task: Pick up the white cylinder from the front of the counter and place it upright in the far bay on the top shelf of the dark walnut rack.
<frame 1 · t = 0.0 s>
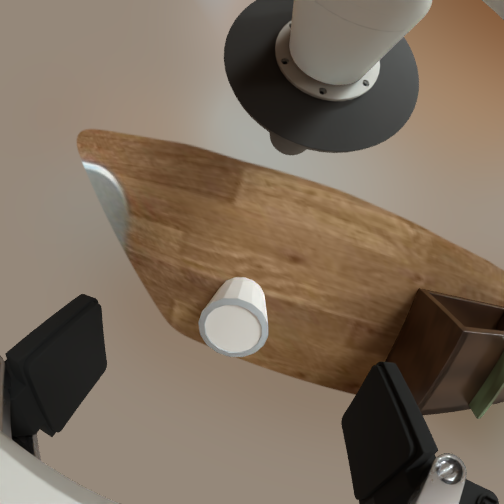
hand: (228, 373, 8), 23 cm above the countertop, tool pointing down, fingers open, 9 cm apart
white cylinder: (241, 298, 33), on the countertop
rack: (454, 334, 32), on the countertop
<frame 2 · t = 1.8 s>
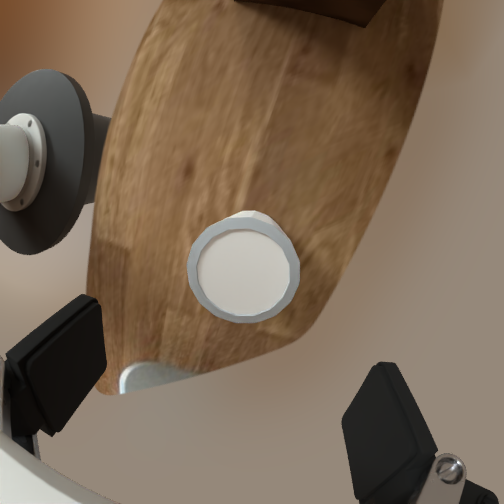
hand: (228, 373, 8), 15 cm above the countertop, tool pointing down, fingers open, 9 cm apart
white cylinder: (250, 243, 23), on the countertop
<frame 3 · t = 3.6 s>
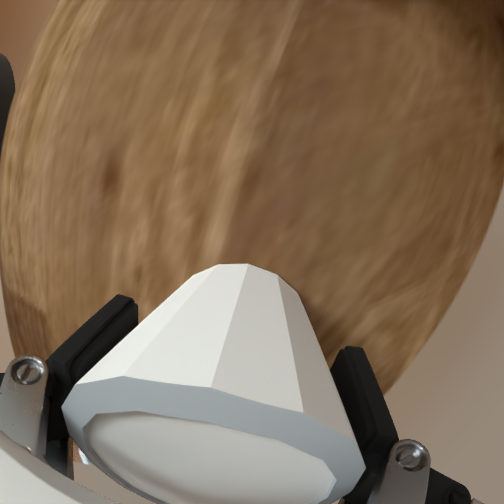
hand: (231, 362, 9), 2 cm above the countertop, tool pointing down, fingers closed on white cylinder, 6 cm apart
white cylinder: (238, 326, 11), on the countertop, touching gripper
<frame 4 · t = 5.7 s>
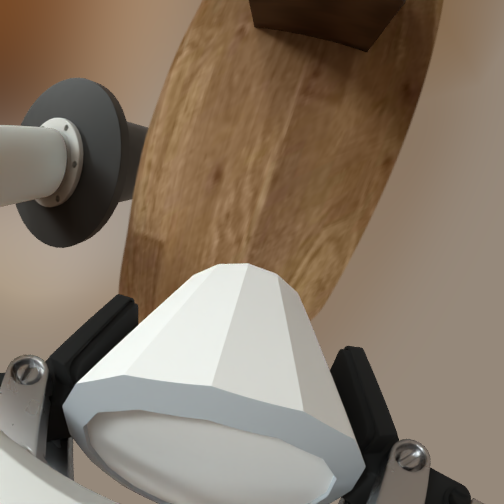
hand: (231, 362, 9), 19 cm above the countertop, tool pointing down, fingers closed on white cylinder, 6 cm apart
white cylinder: (238, 326, 11), point 17 cm above the countertop, touching gripper
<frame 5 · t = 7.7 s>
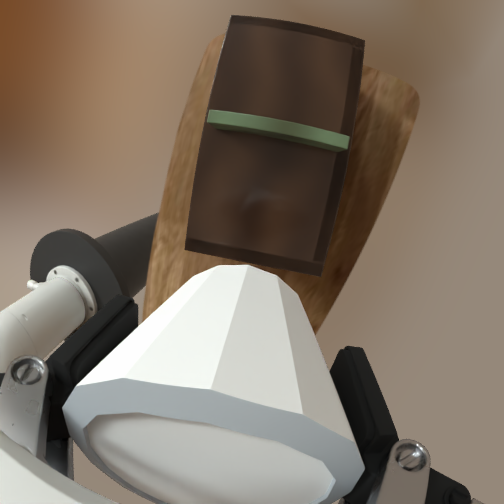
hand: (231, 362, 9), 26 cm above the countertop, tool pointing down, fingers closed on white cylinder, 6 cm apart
white cylinder: (238, 327, 11), point 23 cm above the countertop, touching gripper
rack: (276, 146, 31), on the countertop
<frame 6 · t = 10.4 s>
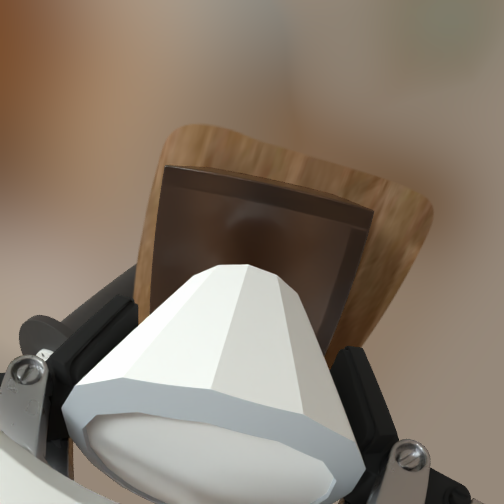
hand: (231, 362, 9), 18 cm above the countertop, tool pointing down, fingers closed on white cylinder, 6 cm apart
white cylinder: (238, 327, 11), point 16 cm above the countertop, touching gripper
rack: (247, 288, 28), on the countertop
when the fingers open (13 cm above the countertop, at t = 12.2 s): white cylinder stays where it is, resting on rack.
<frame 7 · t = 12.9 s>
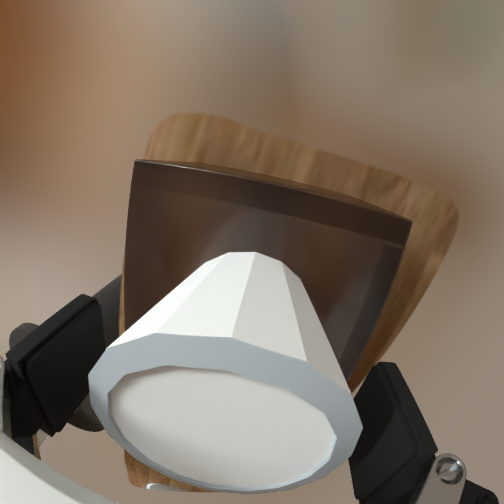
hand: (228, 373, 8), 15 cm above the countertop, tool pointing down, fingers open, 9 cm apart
white cylinder: (246, 310, 12), point 11 cm above the countertop, touching rack
rack: (247, 304, 24), on the countertop
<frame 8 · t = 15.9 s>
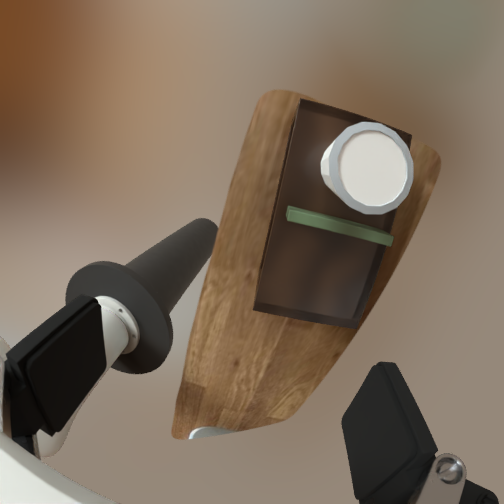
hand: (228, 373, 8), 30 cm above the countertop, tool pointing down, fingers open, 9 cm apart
white cylinder: (348, 168, 24), point 11 cm above the countertop, touching rack
rack: (318, 208, 36), on the countertop
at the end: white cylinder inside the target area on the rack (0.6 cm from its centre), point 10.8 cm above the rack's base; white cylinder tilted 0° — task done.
